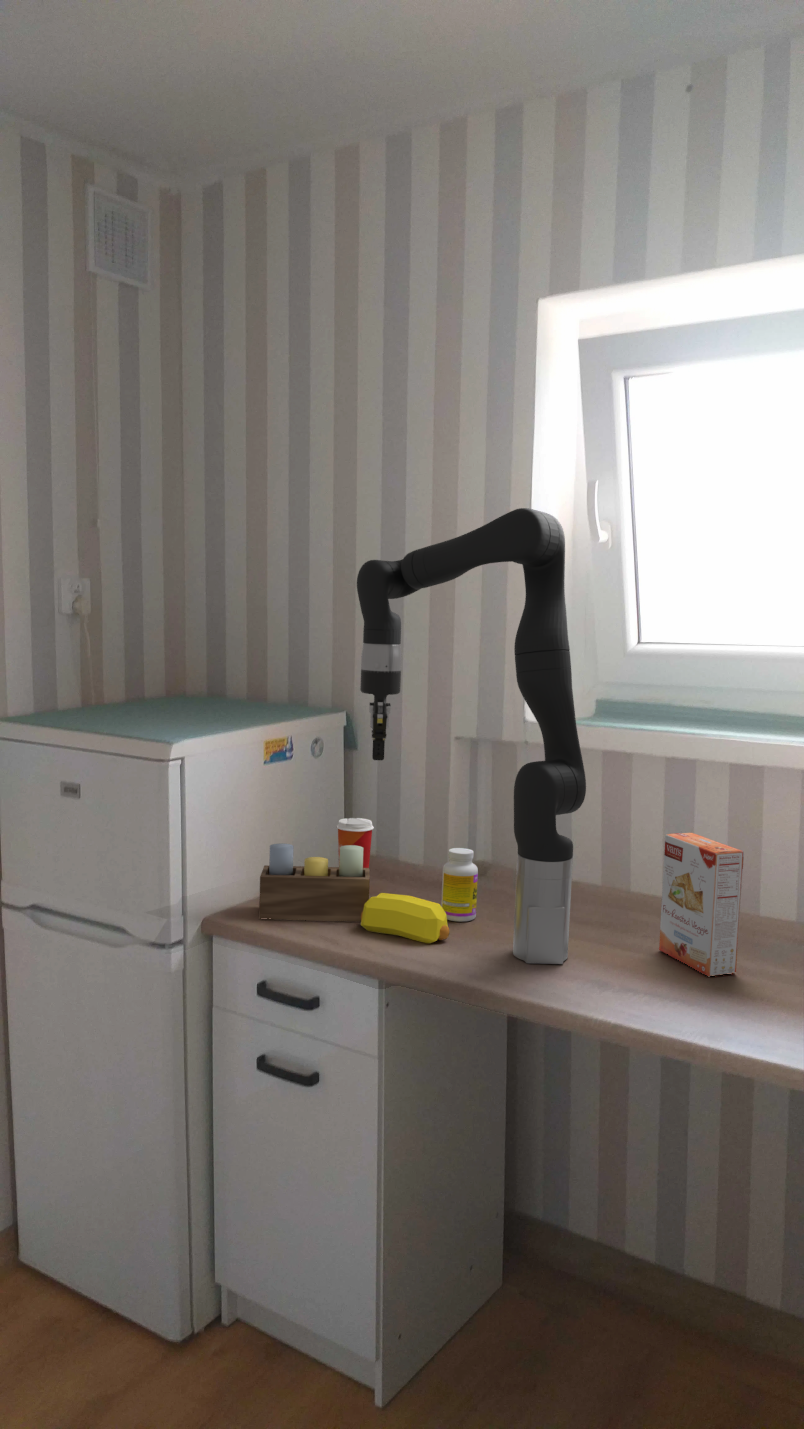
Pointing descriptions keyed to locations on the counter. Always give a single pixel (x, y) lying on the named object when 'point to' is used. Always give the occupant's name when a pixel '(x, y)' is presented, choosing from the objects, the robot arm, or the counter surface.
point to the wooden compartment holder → (313, 896)
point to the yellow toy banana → (405, 917)
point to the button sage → (351, 861)
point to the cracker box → (701, 903)
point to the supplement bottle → (460, 885)
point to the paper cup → (356, 835)
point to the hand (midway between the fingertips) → (378, 759)
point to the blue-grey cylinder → (281, 859)
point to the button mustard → (316, 866)
